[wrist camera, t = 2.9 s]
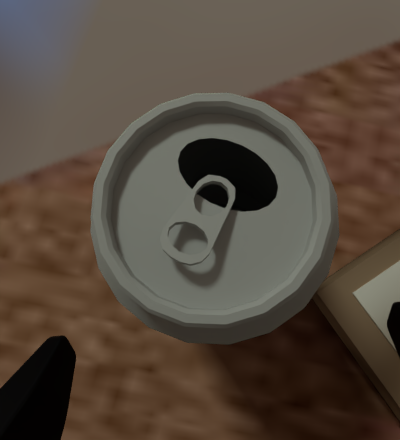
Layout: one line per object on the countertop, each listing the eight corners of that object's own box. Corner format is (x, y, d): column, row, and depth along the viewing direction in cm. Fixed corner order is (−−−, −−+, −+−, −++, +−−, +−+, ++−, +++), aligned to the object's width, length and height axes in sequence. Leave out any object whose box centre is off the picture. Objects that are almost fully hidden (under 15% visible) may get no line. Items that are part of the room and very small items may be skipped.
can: (300, 224, 19) (415, 135, 8) (244, 335, 18) (279, 429, 7) (194, 172, 21) (154, 26, 9) (137, 274, 20) (6, 260, 8)
